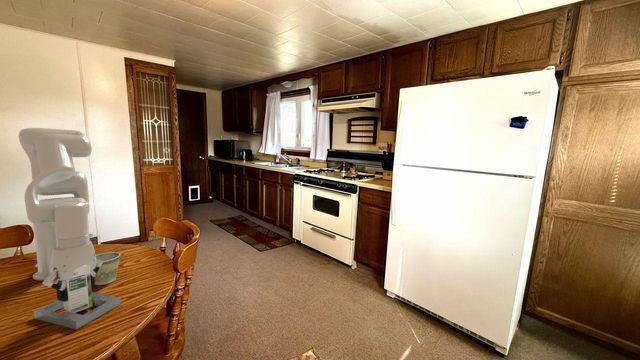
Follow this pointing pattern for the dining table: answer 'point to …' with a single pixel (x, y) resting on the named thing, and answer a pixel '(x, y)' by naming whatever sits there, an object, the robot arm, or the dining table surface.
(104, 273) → the ceramic cup
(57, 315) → the grey rectangular frame
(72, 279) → the syrup box
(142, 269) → the dining table surface
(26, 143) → the robot arm
